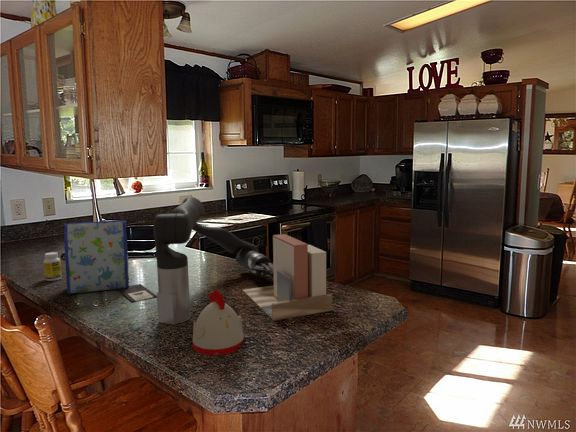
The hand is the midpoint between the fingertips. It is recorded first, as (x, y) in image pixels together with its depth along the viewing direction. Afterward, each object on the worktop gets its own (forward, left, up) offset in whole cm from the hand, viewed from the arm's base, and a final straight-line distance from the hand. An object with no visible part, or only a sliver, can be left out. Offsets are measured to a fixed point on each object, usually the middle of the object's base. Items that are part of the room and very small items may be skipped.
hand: (275, 275), depth 154 cm
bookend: (-17, -8, -6) cm, 20 cm away
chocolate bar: (-17, +50, -8) cm, 53 cm away
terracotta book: (-9, -9, -6) cm, 14 cm away
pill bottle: (-15, +95, -8) cm, 97 cm away
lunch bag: (-16, +68, -8) cm, 71 cm away
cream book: (-7, -16, -6) cm, 19 cm away
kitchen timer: (-42, -2, -8) cm, 42 cm away
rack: (-6, -6, -7) cm, 11 cm away
